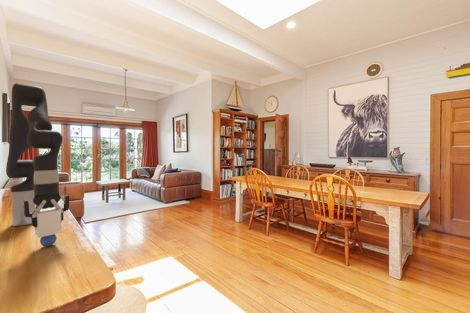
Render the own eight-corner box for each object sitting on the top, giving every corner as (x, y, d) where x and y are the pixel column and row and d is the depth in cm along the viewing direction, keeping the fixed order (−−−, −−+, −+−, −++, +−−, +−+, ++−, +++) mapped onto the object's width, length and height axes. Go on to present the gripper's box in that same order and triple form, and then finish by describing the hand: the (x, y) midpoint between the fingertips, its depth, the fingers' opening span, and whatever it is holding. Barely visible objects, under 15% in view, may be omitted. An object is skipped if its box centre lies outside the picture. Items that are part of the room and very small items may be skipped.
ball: (41, 249, 86) (38, 246, 89) (58, 245, 89) (55, 242, 93) (41, 236, 85) (38, 233, 89) (57, 232, 89) (54, 230, 93)
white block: (35, 233, 89) (34, 210, 88) (56, 228, 94) (56, 207, 94) (38, 237, 84) (38, 213, 84) (61, 232, 89) (60, 210, 89)
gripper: (66, 179, 97) (67, 218, 97) (19, 183, 86) (21, 227, 86) (71, 180, 92) (72, 221, 92) (23, 184, 81) (24, 231, 81)
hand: (48, 224), depth 89 cm, fingers closed on white block, 7 cm apart
